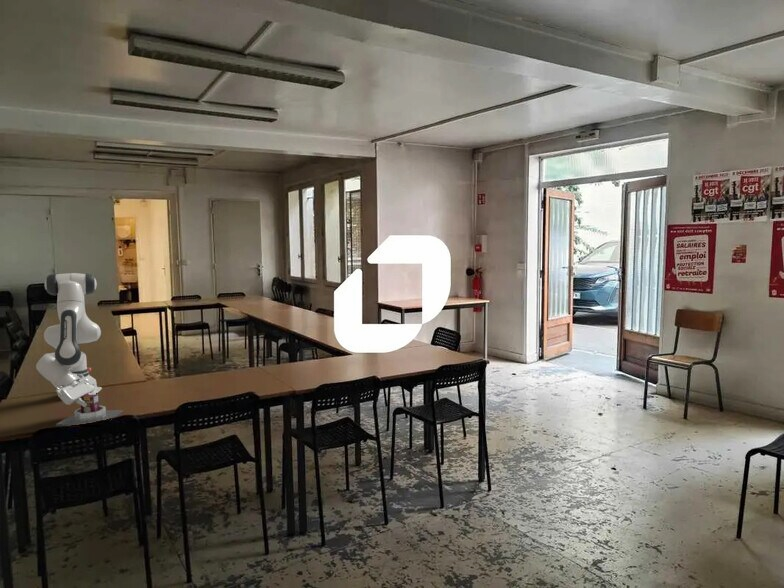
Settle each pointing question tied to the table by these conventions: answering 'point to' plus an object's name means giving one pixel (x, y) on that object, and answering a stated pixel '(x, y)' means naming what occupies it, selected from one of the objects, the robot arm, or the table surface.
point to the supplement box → (90, 403)
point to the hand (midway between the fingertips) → (90, 403)
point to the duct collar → (89, 416)
